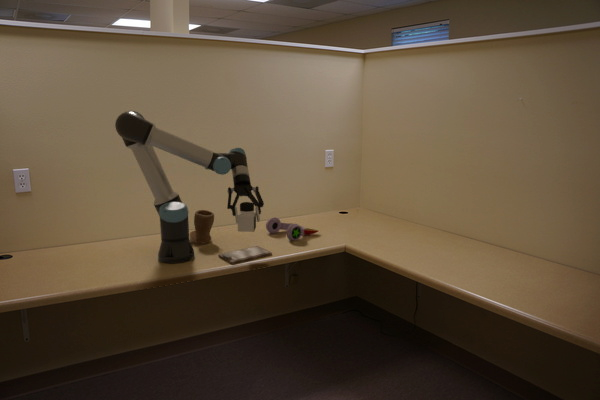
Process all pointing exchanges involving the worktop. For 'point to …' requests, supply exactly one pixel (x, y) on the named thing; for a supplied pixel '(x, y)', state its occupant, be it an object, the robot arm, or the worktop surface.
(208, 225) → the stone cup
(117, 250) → the worktop surface
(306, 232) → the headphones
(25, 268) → the worktop surface
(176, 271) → the worktop surface
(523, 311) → the worktop surface
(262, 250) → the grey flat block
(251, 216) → the medicine bottle
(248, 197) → the robot arm
